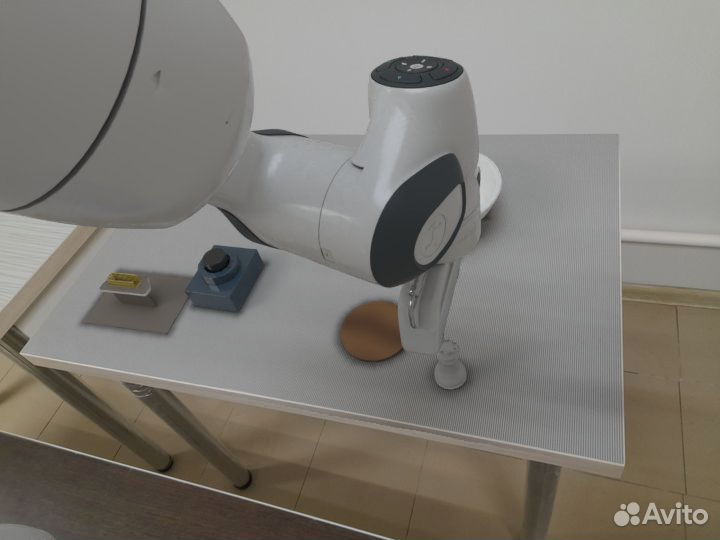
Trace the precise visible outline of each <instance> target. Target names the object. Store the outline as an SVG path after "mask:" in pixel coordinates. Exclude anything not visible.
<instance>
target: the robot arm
mask: <svg viewBox="0 0 720 540" xmlns="http://www.w3.org/2000/svg"><path fill="white" fill-rule="evenodd" d="M251 58H252V57H251V54H250V49H249V46H248V42H247V39H246V37H245V35H244V33H243V31H242V30H241V28H240V27H239V25H238V24H237V22H236V21H235V19H234V18H233V16H232V15H231V14H230V13H229V11H228V10H227V9H226V7H225V6H224V5H223V3H222V2H221V1H220V0H0V213H4V214H9V215H14V216H20V217H25V218H29V219H35V220H40V221H44V222H45V221H46V222H51V223H57V224H64V225H70V226H71V225H72V226H77V227H78V226H79V227H89V228H90V227H91V228H97V229H98V228H99V229H119V230H120V229H123V230H164V229H170V228H172V227H175V226H177V225H179V224H181V223H182V222H184V221H187V219H189V218H191V217H192V216H194V215H195V214H196V213H198V212H199V211H200V210H201V209H203V208H205V206H207V205H210V206H212V207H214V208H216V209H217V210H218V211H220V212H221V214H222V215H223V216H224V217H225V218H226V219H227V220H228V221H229V223H230V224H231V225H232V226H233V227H234V228H235V230H236V231H237V232H238V233H240V235H241V236H243V238H245V239H247V240H248V241H250V242H252V243H255V244H258V245H261V246H265V247H268V248H272V249H275V250H279V251H284V252H287V253H289V254H292V255H295V256H297V257H300V258H303V259H305V260H308V261H310V262H313V263H316V264H318V265H322V266H324V267H327V268H329V269H332V270H334V271H338V272H340V273H343V274H346V275H349V276H351V277H353V278H356V279H358V280H359V279H360V280H362V281H365V282H368V283H371V284H374V285H376V286H377V285H378V286H380V287H383V288H387V289H392V288H396V287H400V286H401V288H400V291H399V296H398V301H397V306H398V321H399V329H400V336H401V343H402V347H403V350H404V351H406V352H409V353H411V354H416V355H422V356H435V355H436V354H437V353H438V352H439V351H440V348H441V345H442V342H443V340H444V338H445V337H444V336H445V331H446V326H447V323H448V318H449V315H450V310H451V305H452V302H453V298H454V293H455V289H456V286H457V281H458V279H459V275H460V273H461V265H462V260H463V257H464V256H467V254H469V253H470V252H471V251H472V250H473V249H474V248H475V247H476V245H477V244H478V243H479V240H480V237H481V234H482V219H481V211H480V180H481V171H480V167H479V166H477V164H478V160H479V153H480V140H479V139H480V138H479V126H478V116H477V109H476V102H475V95H474V90H473V87H472V83H471V80H470V77H469V74H468V72H467V70H466V69H465V67H463V66H462V65H461V64H460V63H458V62H456V61H454V60H453V59H450V58H444V57H440V56H433V55H431V56H430V55H415V54H413V55H407V56H400V57H395V58H391V59H389V60H387V61H384V62H382V63H381V64H380V65H378V66H377V67H375V68H374V69H372V70H371V72H370V73H369V76H368V81H367V103H368V105H367V106H368V116H369V121H368V125H367V128H366V131H365V134H364V136H363V139H362V141H361V143H360V145H359V147H358V148H354V147H350V146H345V145H341V144H336V143H332V142H327V141H323V140H319V139H314V138H310V137H308V136H306V135H303V134H299V133H296V132H292V131H289V130H286V129H281V128H267V129H266V128H265V129H258V130H257V129H256V130H251V127H252V122H253V117H254V109H255V81H254V71H253V64H252V59H251ZM0 540H57V538H56V537H55V536H54V535H53V534H52V533H50V532H48V531H46V530H43V529H41V528H38V527H34V526H31V525H25V524H20V523H19V524H18V523H0Z"/></svg>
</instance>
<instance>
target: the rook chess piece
mask: <svg viewBox="0 0 720 540" xmlns="http://www.w3.org/2000/svg"><path fill="white" fill-rule="evenodd" d="M460 352H461V347H460V345H459V343H458V342H457V341H456V340H455V339H451V337H449V336H448V337H447V336H446V338H445V339H443V342H442V345H441V348H440V351H439V352H438V353H437V354H435V355H436V356H437V360H438V362H437V363H436V365H435V366H434V372H433V375H434V376H433V377H434V380H435V382H436V384H437V385H438V386H439V387H441V388H443V389H445V390H455V389H459V388H460V387H462V386H463V385H464V384H465V382H466V380H467V375H468V374H467V371H466V367H465V365H464V364H463V362H461V360H459V357H460Z"/></svg>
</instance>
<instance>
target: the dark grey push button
mask: <svg viewBox="0 0 720 540" xmlns="http://www.w3.org/2000/svg"><path fill="white" fill-rule="evenodd" d="M201 259H202V262H203V263H204V265H205V267H206V268H207V270H208V271H209V272H211V273H216V272H220V271H222V270H223V269H225V268H226V267H227V266H228V264H229V258H228V257H227V255H226V253H225V251H224V250H223V249H221V248H213V249H212V248H210V249H209V250H208V251H207V250H206V252H204V254H203V256H202V257H201Z"/></svg>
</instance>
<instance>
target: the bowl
mask: <svg viewBox="0 0 720 540" xmlns="http://www.w3.org/2000/svg"><path fill="white" fill-rule="evenodd" d="M477 166H479V167H480V171H481V180H480V211H481V220H482V219H484V218H485V216H487V214H488V213H489V212H490V210H491V209H492V207H493V206H494V205H495V202H496V201H497V200H498V198H499V195H500V194H501V191H502V188H503V187H502V186H503V177H502V174H501V171H500V169H499V167H498V166H497V165H496V163H495V162H494V161H493V160H492V159H490V158H489V157H488V156H487V155H486V154H484V153H481V152H479V160H478V164H477Z"/></svg>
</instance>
